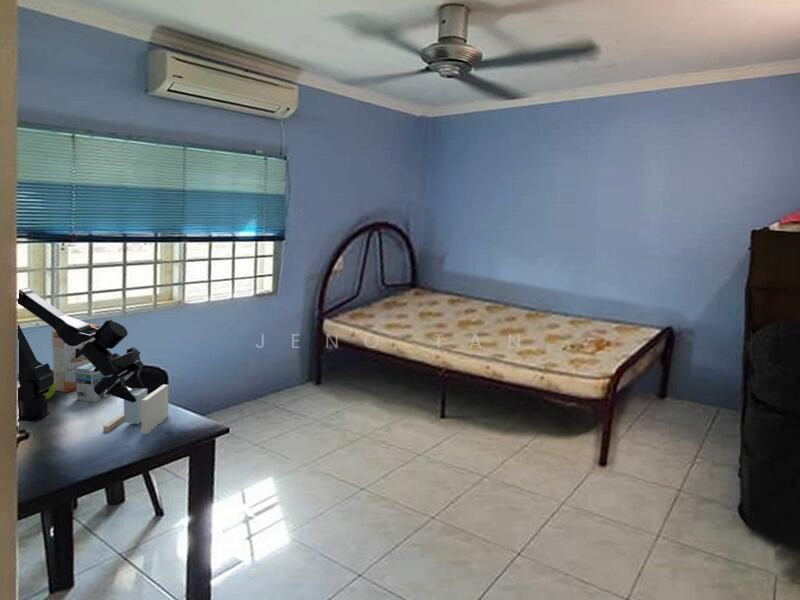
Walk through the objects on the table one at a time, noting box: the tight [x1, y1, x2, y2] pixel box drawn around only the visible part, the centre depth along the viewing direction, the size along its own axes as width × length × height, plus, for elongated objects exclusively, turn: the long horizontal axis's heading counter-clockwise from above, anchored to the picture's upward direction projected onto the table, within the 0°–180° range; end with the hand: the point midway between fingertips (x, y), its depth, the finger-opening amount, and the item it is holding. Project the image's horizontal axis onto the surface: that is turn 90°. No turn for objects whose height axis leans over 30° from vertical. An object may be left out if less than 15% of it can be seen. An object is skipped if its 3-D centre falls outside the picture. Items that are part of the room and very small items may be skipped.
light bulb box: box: [76, 363, 110, 403], centre depth 186 cm, size 11×7×11 cm, turn 168°
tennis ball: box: [43, 382, 56, 400], centre depth 181 cm, size 7×7×7 cm
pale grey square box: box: [123, 388, 148, 424], centre depth 166 cm, size 5×6×8 cm
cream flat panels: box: [102, 384, 169, 435], centre depth 166 cm, size 12×14×10 cm
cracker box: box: [51, 323, 100, 393], centre depth 194 cm, size 14×6×21 cm, turn 160°
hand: (140, 397), depth 166 cm, fingers open, 6 cm apart
